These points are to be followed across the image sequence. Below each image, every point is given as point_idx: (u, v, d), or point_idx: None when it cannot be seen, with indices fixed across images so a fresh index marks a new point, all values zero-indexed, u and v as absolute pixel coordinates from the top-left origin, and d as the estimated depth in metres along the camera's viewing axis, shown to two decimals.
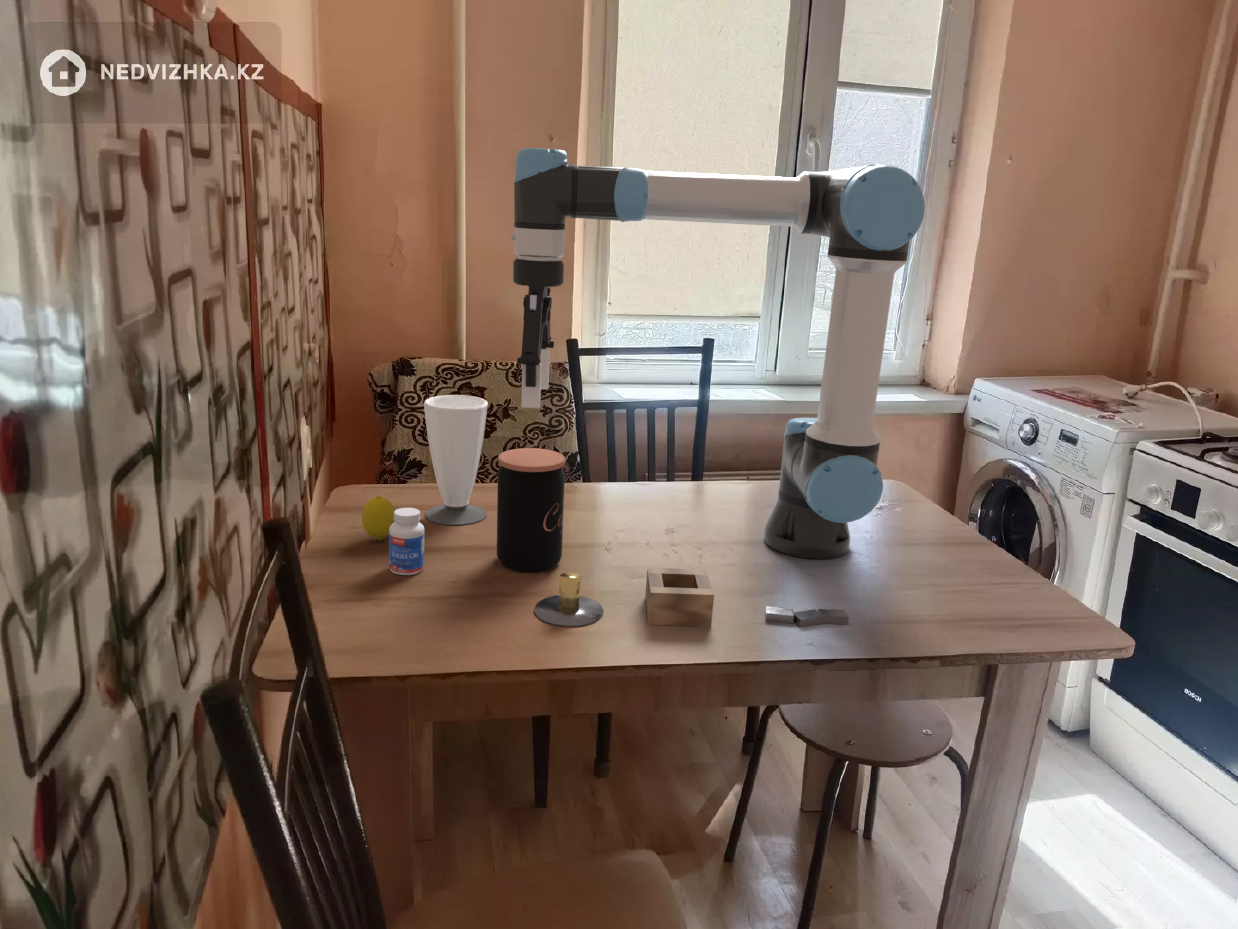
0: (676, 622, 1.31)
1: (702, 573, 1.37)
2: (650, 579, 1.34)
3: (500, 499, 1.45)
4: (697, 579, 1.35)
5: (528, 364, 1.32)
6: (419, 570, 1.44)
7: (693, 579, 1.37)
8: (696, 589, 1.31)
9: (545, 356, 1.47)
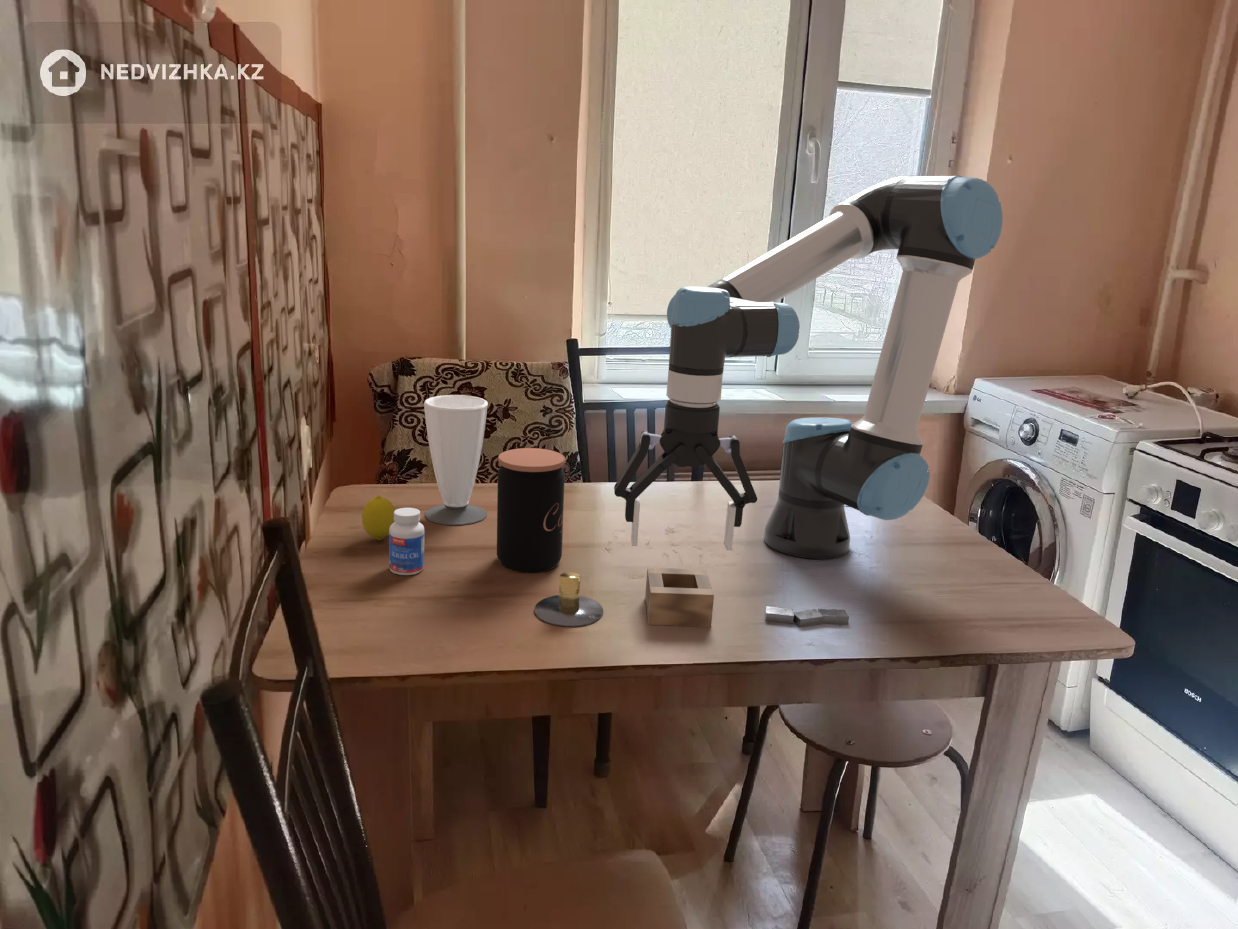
0: (676, 622, 1.31)
1: (702, 573, 1.37)
2: (650, 579, 1.34)
3: (500, 499, 1.45)
4: (697, 579, 1.35)
5: None
6: (419, 570, 1.44)
7: (693, 579, 1.37)
8: (696, 589, 1.31)
9: (729, 513, 1.30)
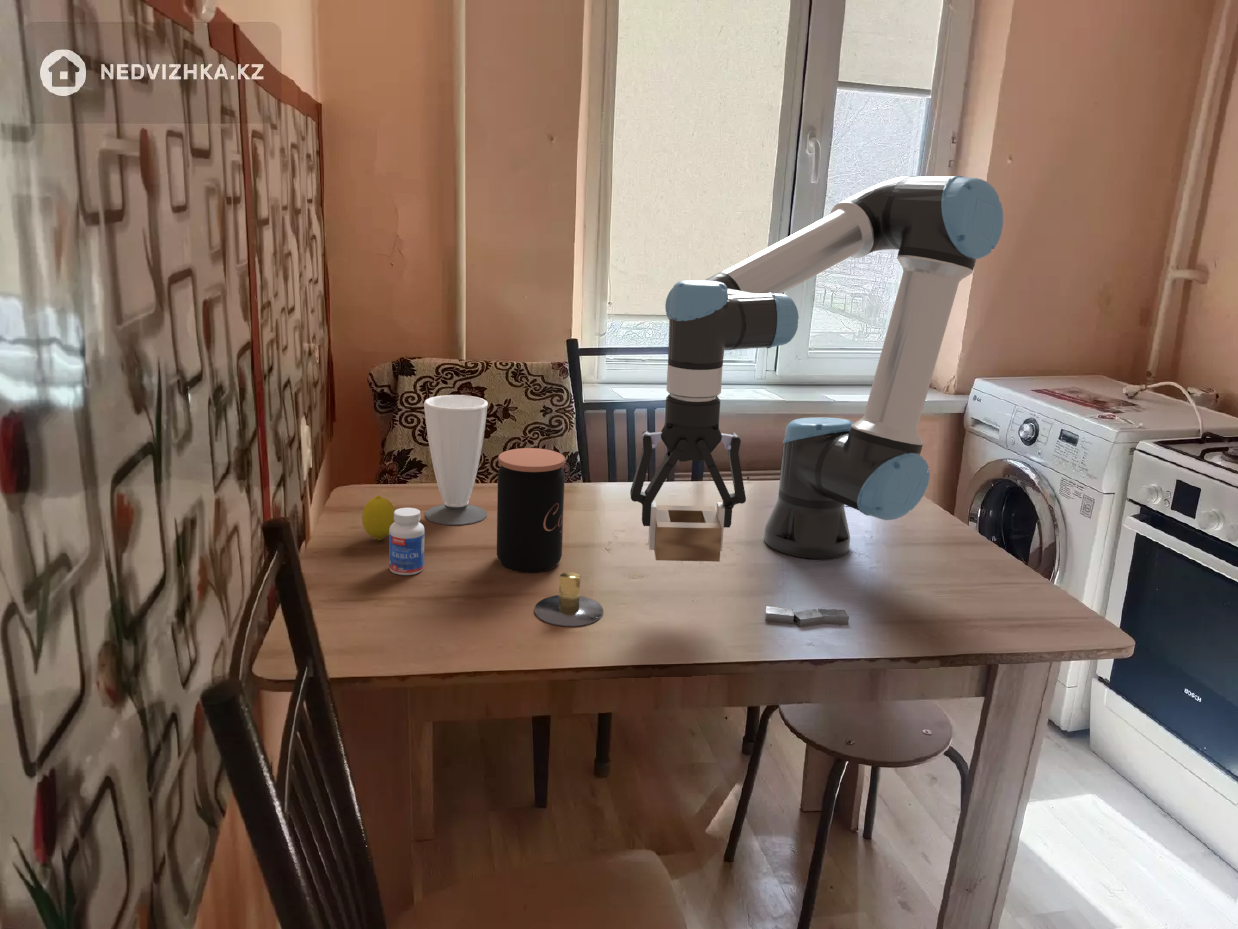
0: (684, 557, 1.28)
1: (710, 509, 1.34)
2: (656, 515, 1.31)
3: (500, 499, 1.45)
4: (704, 515, 1.32)
5: None
6: (419, 570, 1.44)
7: (700, 515, 1.34)
8: (703, 523, 1.29)
9: (718, 514, 1.30)
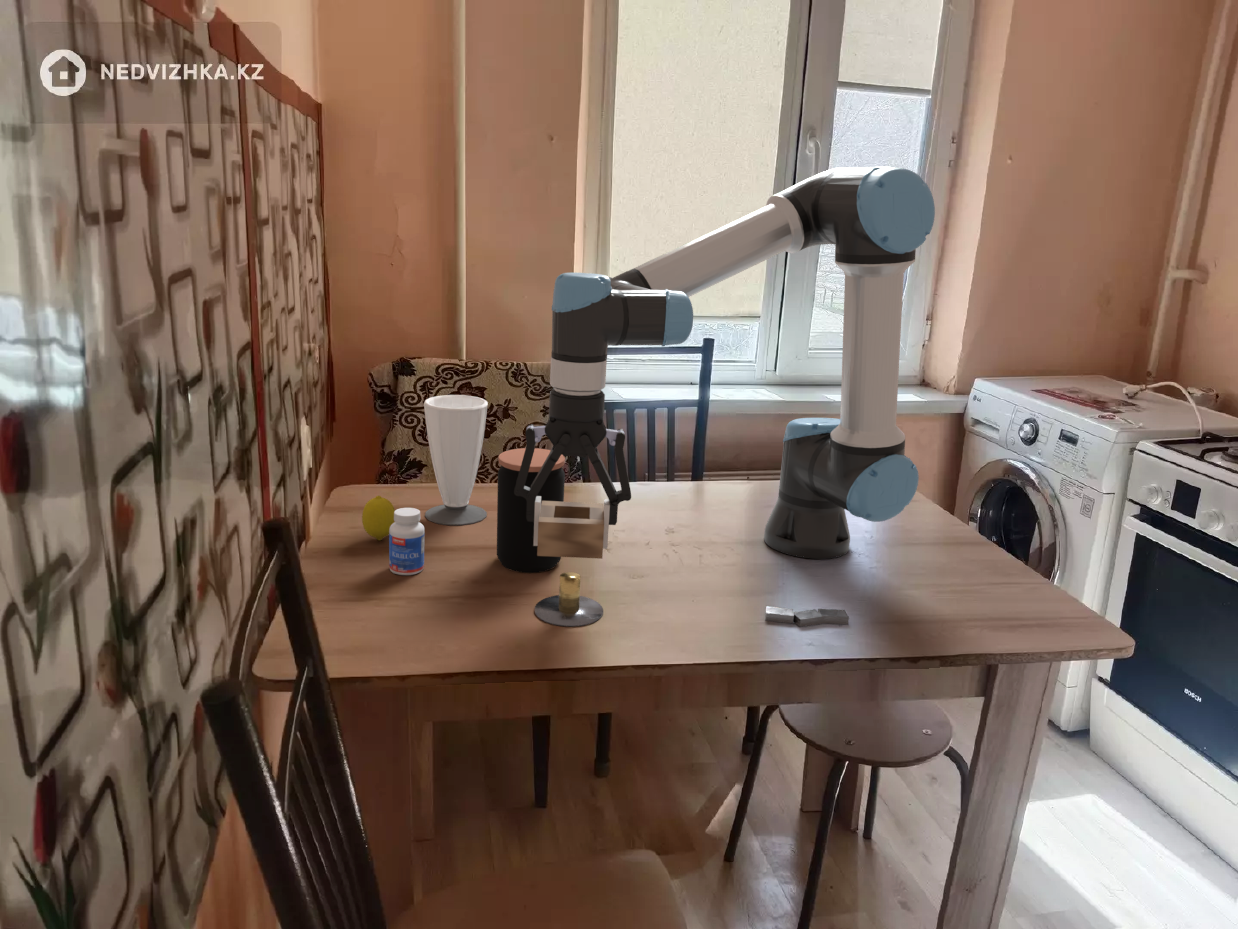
0: (566, 553, 1.26)
1: (598, 506, 1.32)
2: (541, 510, 1.29)
3: (500, 499, 1.45)
4: (591, 511, 1.30)
5: None
6: (419, 570, 1.44)
7: (588, 512, 1.32)
8: (587, 519, 1.27)
9: (604, 511, 1.29)
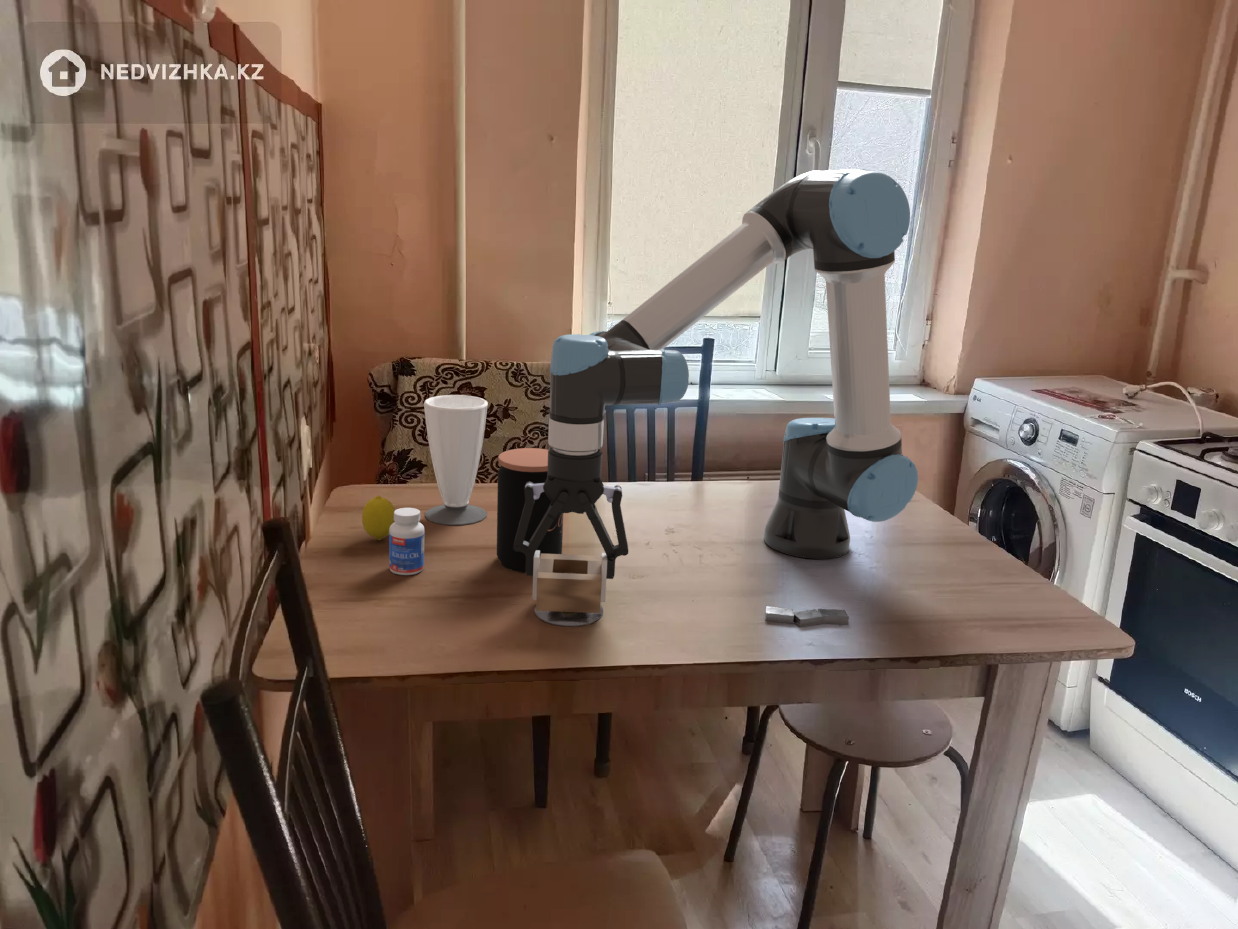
0: (564, 608, 1.29)
1: (596, 559, 1.35)
2: (540, 565, 1.32)
3: (500, 499, 1.45)
4: (589, 565, 1.32)
5: None
6: (419, 570, 1.44)
7: (586, 565, 1.34)
8: (585, 575, 1.29)
9: (601, 566, 1.31)
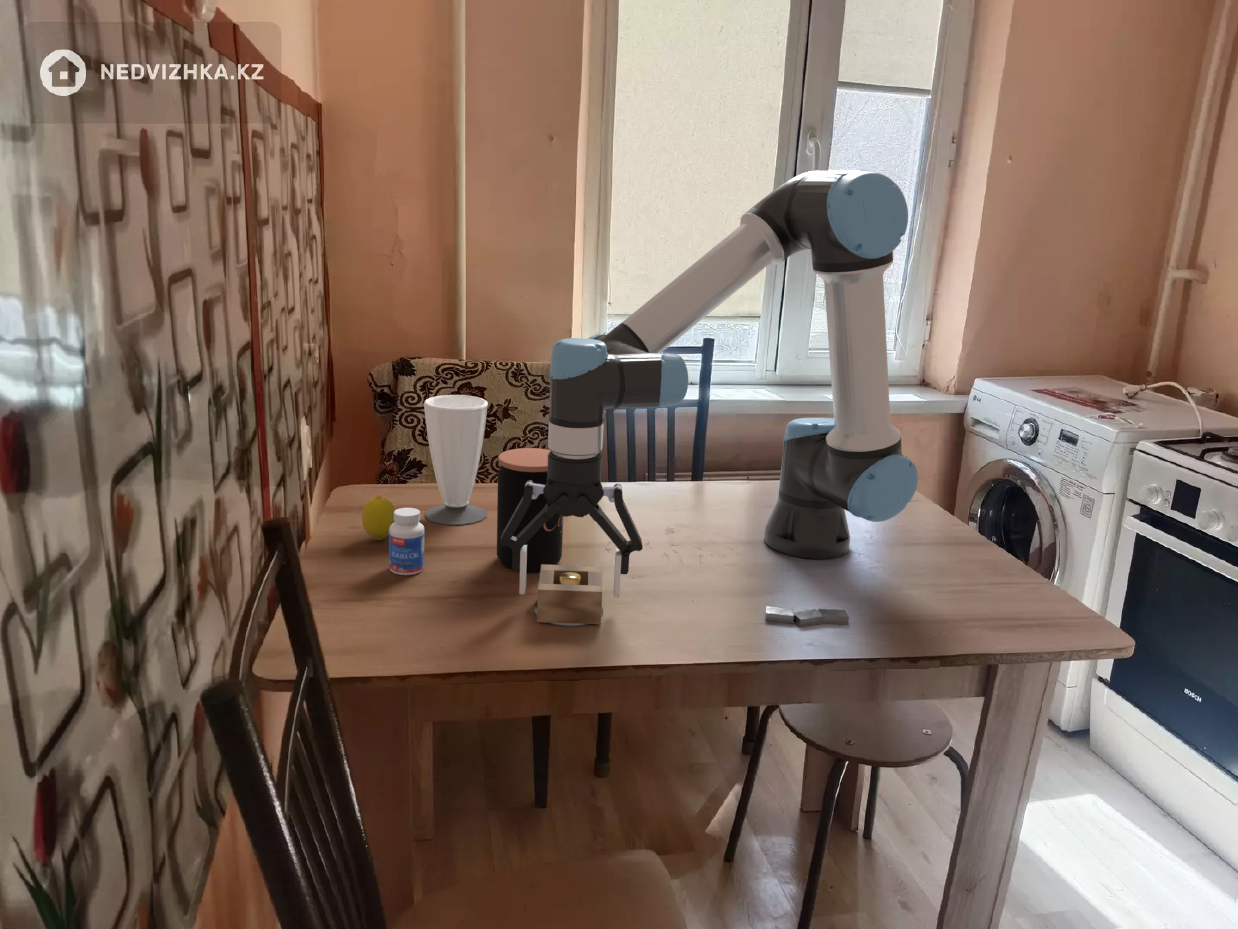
0: (565, 619, 1.29)
1: (596, 570, 1.35)
2: (541, 576, 1.32)
3: (500, 499, 1.45)
4: (589, 576, 1.33)
5: None
6: (419, 570, 1.44)
7: (587, 576, 1.35)
8: (585, 586, 1.30)
9: (615, 561, 1.31)
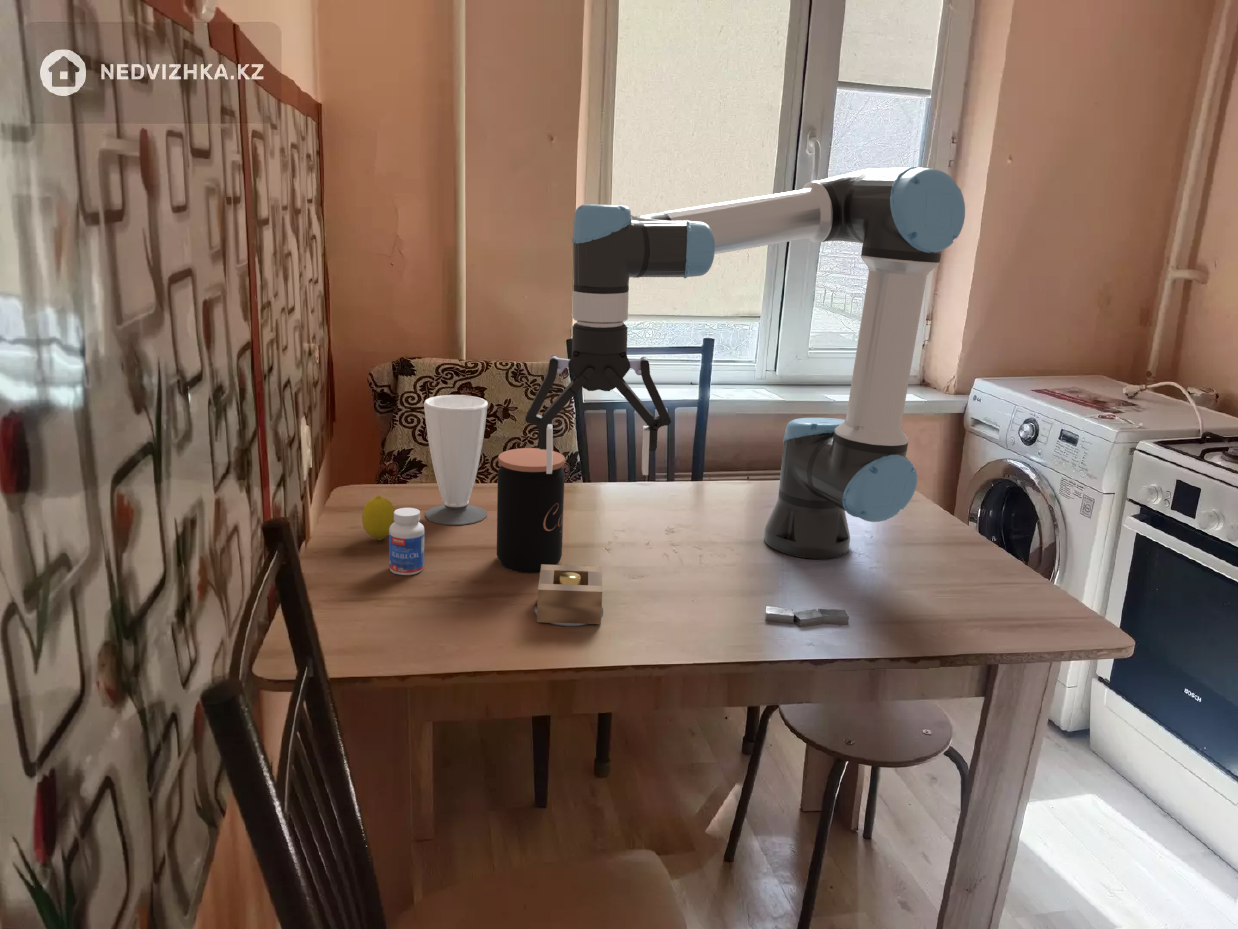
0: (565, 619, 1.29)
1: (596, 570, 1.35)
2: (541, 576, 1.32)
3: (500, 499, 1.45)
4: (589, 576, 1.33)
5: None
6: (419, 570, 1.44)
7: (587, 576, 1.35)
8: (585, 586, 1.30)
9: (643, 437, 1.28)
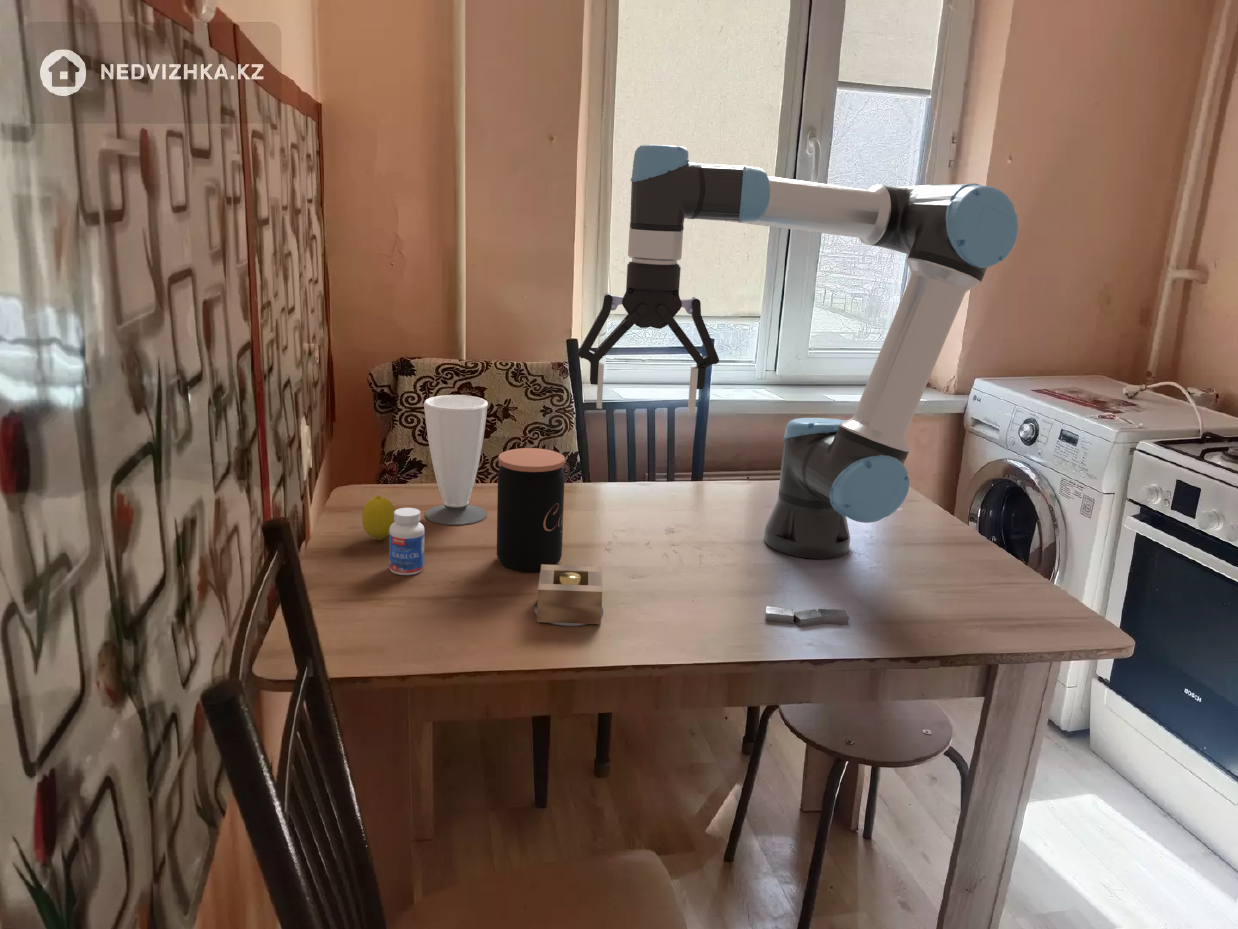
0: (565, 619, 1.29)
1: (596, 570, 1.35)
2: (541, 576, 1.32)
3: (500, 499, 1.45)
4: (589, 576, 1.33)
5: None
6: (419, 570, 1.44)
7: (587, 576, 1.35)
8: (585, 586, 1.30)
9: (692, 375, 1.33)
